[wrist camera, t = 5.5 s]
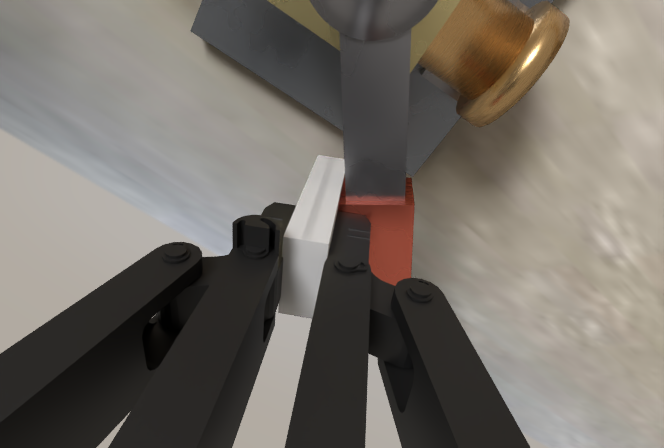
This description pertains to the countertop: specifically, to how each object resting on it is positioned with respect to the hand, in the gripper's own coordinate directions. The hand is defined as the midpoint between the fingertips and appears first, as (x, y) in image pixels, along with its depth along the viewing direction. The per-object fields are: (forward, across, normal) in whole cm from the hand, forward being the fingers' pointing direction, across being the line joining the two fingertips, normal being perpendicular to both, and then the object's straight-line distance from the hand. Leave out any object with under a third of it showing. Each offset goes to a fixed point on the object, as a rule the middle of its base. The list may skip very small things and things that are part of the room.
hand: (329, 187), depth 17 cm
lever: (-1, +1, +4) cm, 4 cm away
